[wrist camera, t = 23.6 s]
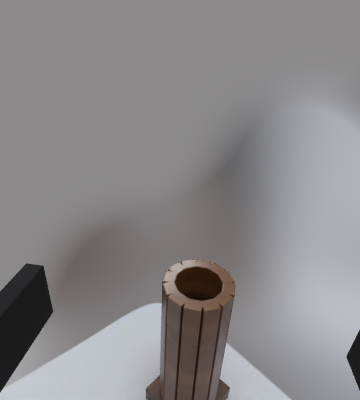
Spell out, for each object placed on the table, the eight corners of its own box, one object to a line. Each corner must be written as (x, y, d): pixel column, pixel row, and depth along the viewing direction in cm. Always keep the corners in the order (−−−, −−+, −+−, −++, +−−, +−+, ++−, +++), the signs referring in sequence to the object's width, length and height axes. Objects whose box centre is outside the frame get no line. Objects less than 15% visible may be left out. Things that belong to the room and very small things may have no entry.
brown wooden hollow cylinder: (148, 388, 29) (148, 281, 22) (185, 351, 33) (194, 250, 26) (191, 434, 26) (204, 324, 19) (227, 387, 29) (248, 282, 23)
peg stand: (145, 397, 30) (144, 321, 25) (185, 357, 34) (191, 286, 29) (190, 446, 26) (200, 370, 21) (228, 396, 30) (244, 322, 25)
